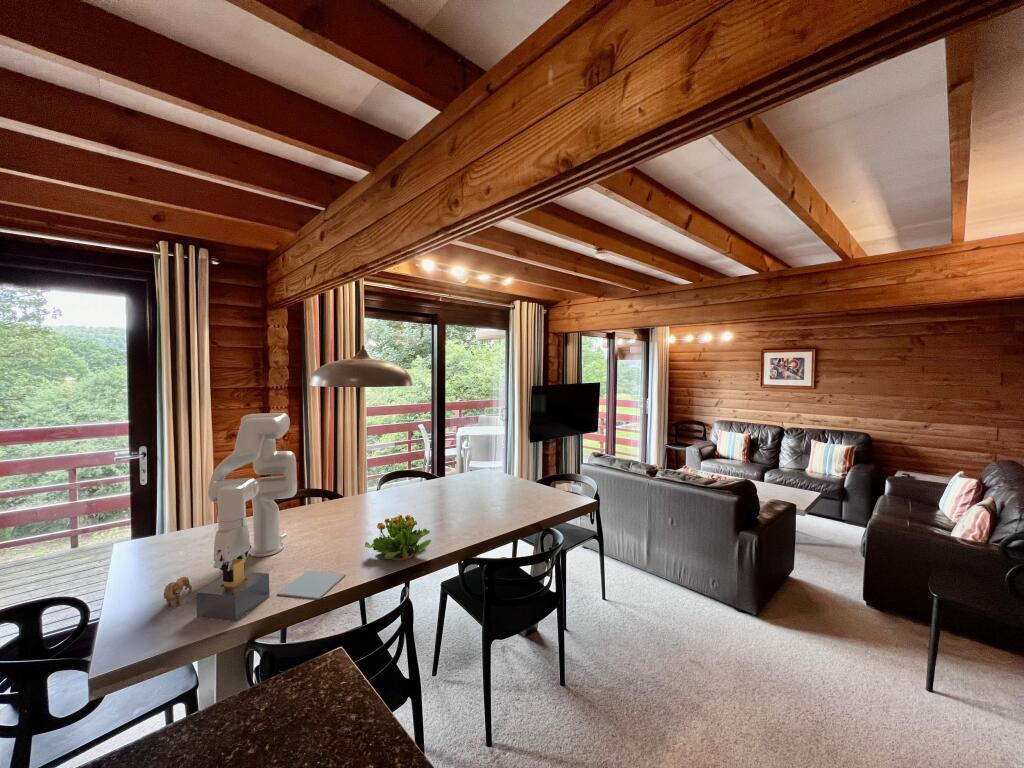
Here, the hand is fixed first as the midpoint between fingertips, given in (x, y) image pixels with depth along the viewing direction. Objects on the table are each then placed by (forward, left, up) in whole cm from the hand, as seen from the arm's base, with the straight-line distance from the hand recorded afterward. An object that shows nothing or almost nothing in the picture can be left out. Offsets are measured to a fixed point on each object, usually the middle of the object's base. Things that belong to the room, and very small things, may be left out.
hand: (234, 577), depth 135 cm
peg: (0, 0, -7) cm, 7 cm away
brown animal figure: (+1, -20, -10) cm, 23 cm away
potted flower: (-43, +40, -10) cm, 59 cm away
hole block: (0, 0, -10) cm, 10 cm away
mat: (-16, +17, -10) cm, 25 cm away
